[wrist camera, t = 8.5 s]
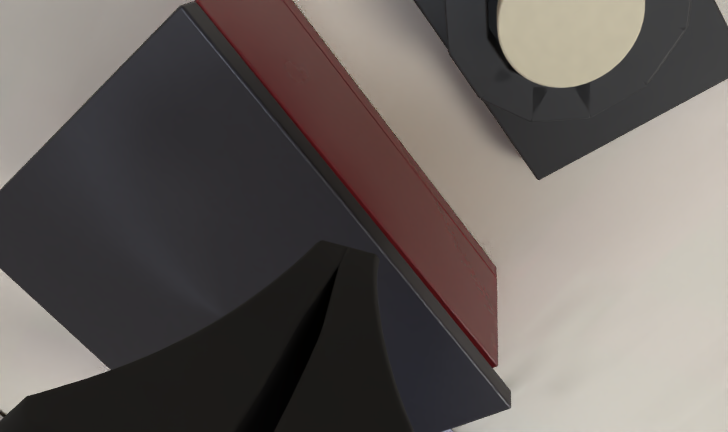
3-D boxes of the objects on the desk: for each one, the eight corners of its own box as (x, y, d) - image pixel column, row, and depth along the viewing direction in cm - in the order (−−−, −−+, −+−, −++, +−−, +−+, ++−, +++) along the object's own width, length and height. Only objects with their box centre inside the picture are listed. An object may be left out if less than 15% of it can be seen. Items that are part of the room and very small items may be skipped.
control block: (732, 56, 18) (772, 83, 15) (535, 165, 21) (541, 202, 18) (577, -248, 15) (595, -277, 12) (375, -69, 18) (356, -62, 15)
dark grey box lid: (511, 390, 18) (512, 409, 18) (257, 482, 24) (249, 498, 23) (195, -1, 14) (180, 3, 14) (-24, 220, 20) (-42, 231, 19)
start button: (654, 21, 15) (671, 35, 14) (537, 94, 17) (541, 113, 15) (590, -95, 14) (602, -93, 13) (472, -6, 16) (470, 4, 14)
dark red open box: (497, 267, 23) (498, 366, 19) (289, 367, 29) (247, 463, 24) (271, -28, 19) (196, -2, 14) (79, 155, 25) (-22, 219, 20)
